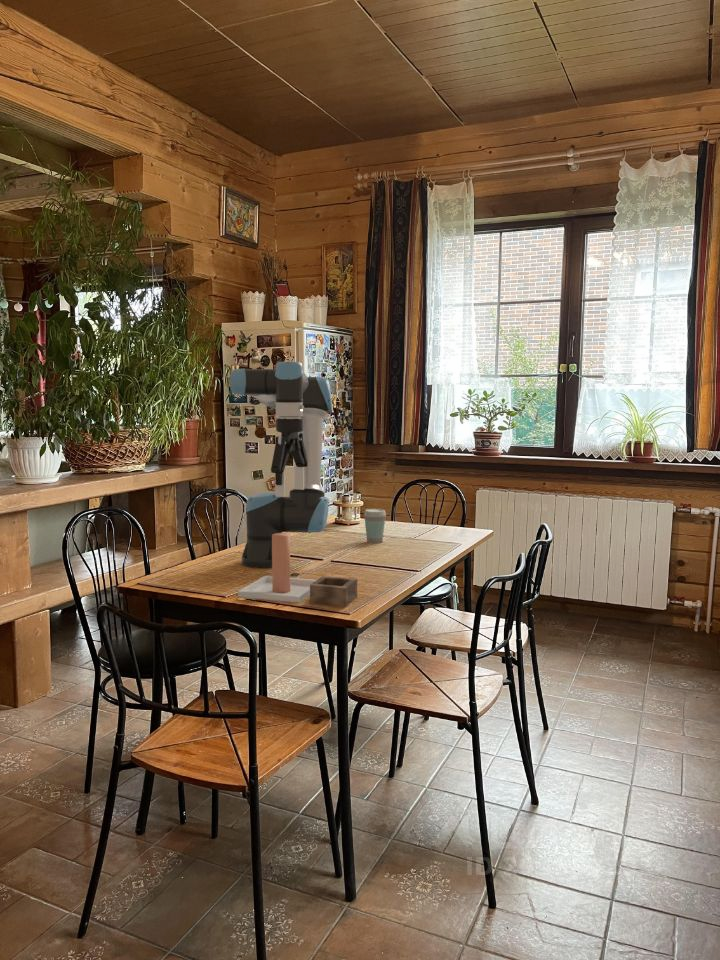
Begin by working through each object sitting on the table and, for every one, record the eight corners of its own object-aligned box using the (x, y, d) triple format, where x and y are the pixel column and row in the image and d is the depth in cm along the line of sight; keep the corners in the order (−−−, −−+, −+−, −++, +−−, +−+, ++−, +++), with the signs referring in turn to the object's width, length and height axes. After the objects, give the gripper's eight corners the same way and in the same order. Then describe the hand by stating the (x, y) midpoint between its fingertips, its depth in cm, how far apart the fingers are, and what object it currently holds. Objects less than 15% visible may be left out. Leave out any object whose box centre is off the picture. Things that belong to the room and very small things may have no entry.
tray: (237, 600, 201) (237, 591, 201) (265, 583, 219) (265, 575, 218) (299, 606, 196) (299, 596, 196) (322, 588, 213) (322, 580, 213)
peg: (269, 592, 206) (269, 535, 204) (276, 587, 210) (276, 532, 208) (286, 593, 204) (285, 537, 202) (293, 589, 209) (292, 533, 207)
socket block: (309, 607, 195) (309, 585, 195) (322, 597, 205) (322, 575, 204) (345, 610, 192) (345, 588, 192) (357, 600, 202) (357, 578, 201)
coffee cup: (386, 543, 276) (386, 512, 274) (363, 543, 276) (363, 512, 274) (385, 539, 284) (386, 508, 283) (363, 539, 284) (363, 508, 283)
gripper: (283, 420, 193) (284, 500, 196) (318, 415, 216) (318, 487, 219) (257, 419, 195) (258, 499, 198) (294, 414, 219) (295, 485, 222)
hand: (290, 492), depth 209 cm, fingers open, 13 cm apart
